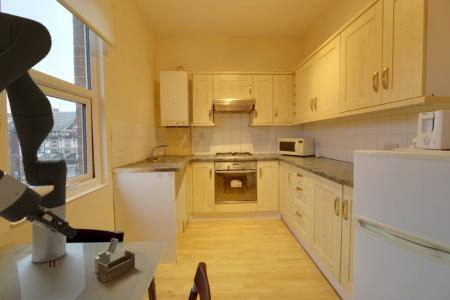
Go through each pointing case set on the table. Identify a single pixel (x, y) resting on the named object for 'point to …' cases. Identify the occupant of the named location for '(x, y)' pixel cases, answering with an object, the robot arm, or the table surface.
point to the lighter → (106, 254)
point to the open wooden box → (116, 267)
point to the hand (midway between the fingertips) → (66, 232)
